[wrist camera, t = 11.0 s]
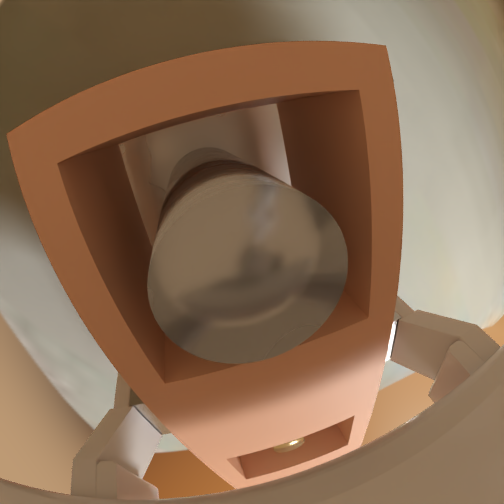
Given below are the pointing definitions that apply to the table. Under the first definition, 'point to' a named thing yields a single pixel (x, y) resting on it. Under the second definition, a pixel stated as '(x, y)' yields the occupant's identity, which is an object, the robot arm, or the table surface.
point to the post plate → (233, 239)
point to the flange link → (140, 249)
